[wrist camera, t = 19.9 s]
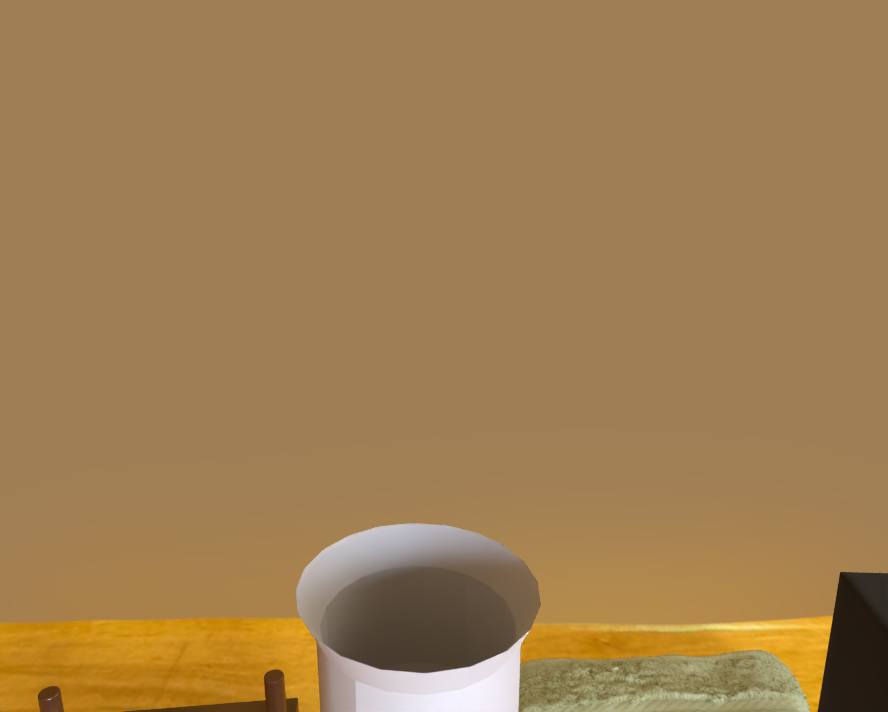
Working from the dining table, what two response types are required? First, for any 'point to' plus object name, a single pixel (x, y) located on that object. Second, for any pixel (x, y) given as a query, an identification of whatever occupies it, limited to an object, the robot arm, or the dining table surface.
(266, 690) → the drying rack
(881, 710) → the robot arm
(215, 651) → the dining table surface
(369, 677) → the chalice
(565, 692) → the washcloth
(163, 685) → the dining table surface
